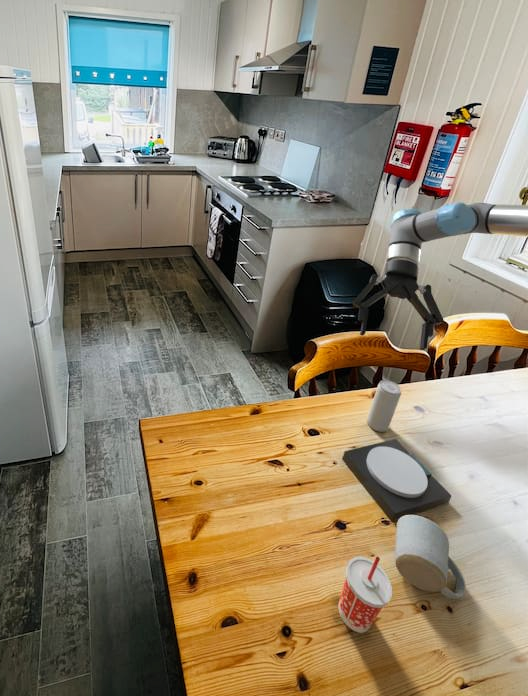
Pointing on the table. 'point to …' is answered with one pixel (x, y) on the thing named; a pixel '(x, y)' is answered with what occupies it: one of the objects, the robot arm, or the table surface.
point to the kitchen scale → (396, 479)
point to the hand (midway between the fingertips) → (392, 341)
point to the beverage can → (383, 405)
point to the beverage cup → (363, 593)
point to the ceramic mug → (425, 556)
